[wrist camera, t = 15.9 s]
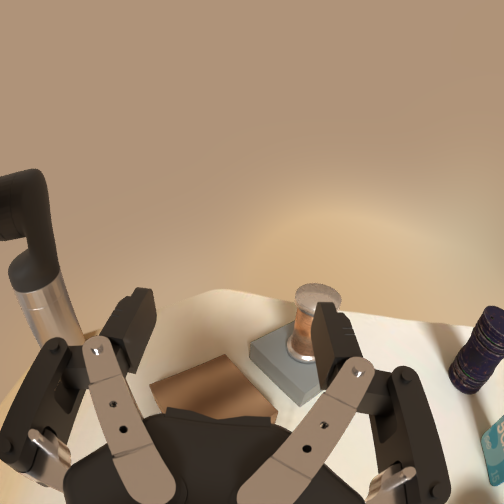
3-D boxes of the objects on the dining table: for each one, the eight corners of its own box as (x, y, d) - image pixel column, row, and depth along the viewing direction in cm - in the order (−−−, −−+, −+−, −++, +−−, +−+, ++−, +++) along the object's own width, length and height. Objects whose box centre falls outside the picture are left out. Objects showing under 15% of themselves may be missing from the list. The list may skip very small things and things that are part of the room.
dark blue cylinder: (479, 365, 39) (512, 311, 33) (483, 397, 31) (525, 342, 25) (446, 356, 43) (479, 300, 37) (448, 390, 35) (489, 332, 29)
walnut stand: (154, 398, 35) (149, 384, 33) (225, 369, 42) (225, 353, 41) (196, 466, 26) (192, 457, 24) (274, 423, 33) (278, 411, 31)
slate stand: (249, 357, 45) (250, 342, 43) (301, 329, 52) (305, 314, 51) (299, 407, 36) (305, 393, 34) (350, 367, 43) (357, 353, 41)
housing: (278, 346, 43) (286, 293, 38) (305, 330, 46) (316, 278, 41) (306, 370, 38) (321, 317, 33) (333, 350, 42) (350, 298, 37)
